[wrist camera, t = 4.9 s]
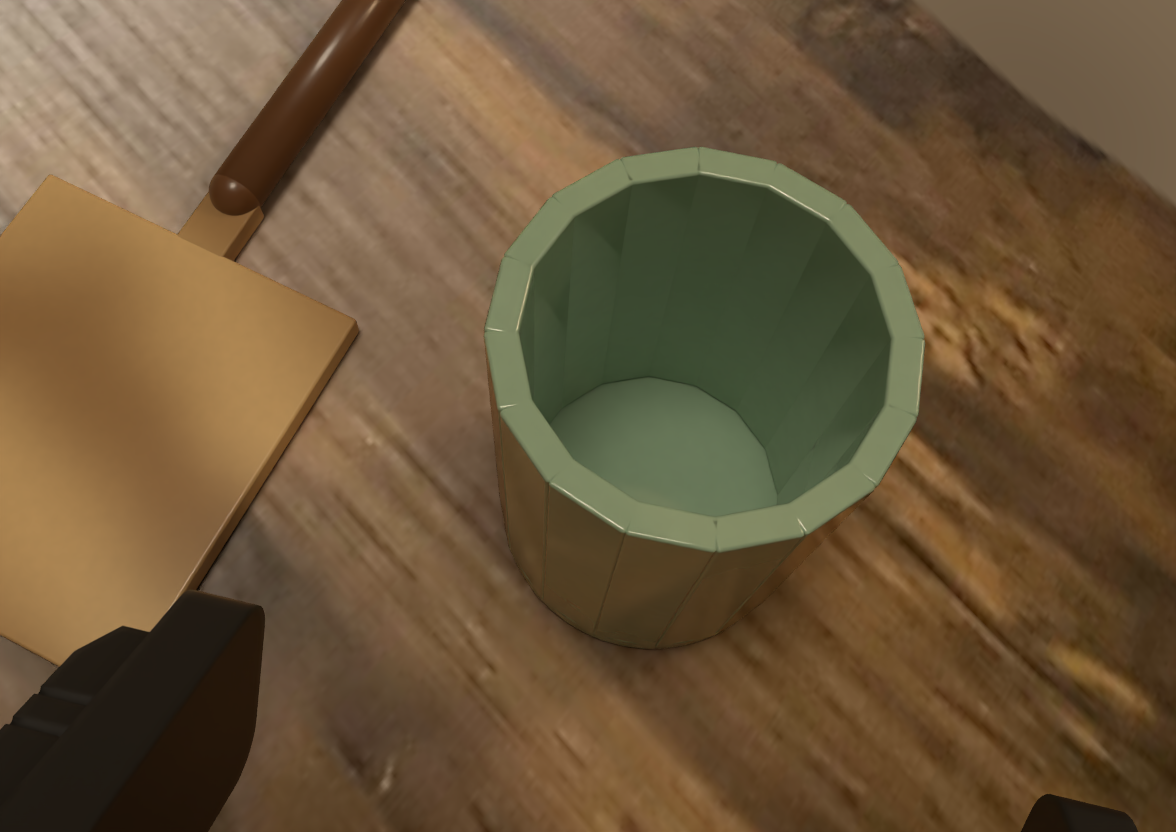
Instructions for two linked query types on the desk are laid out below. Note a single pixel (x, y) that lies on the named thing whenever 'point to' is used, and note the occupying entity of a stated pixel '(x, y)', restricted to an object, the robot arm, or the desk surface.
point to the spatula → (154, 375)
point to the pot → (691, 388)
